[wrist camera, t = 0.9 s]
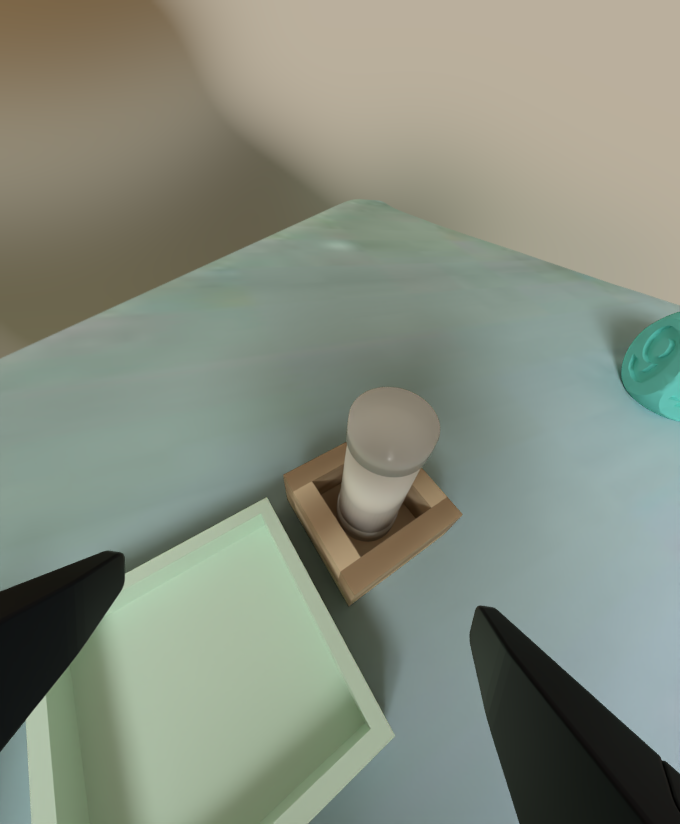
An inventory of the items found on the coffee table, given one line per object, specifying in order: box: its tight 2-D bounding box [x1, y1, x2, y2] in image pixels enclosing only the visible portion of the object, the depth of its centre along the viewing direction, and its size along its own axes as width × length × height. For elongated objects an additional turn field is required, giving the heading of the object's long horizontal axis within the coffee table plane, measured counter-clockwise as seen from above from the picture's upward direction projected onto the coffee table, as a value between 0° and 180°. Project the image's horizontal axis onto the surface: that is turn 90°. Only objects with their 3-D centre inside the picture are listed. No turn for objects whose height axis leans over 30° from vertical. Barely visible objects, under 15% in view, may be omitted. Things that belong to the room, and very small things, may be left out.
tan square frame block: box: [283, 442, 463, 606], centre depth 23 cm, size 8×8×4 cm
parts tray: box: [26, 497, 395, 824], centre depth 17 cm, size 14×14×3 cm
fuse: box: [336, 387, 440, 542], centre depth 19 cm, size 4×4×11 cm
